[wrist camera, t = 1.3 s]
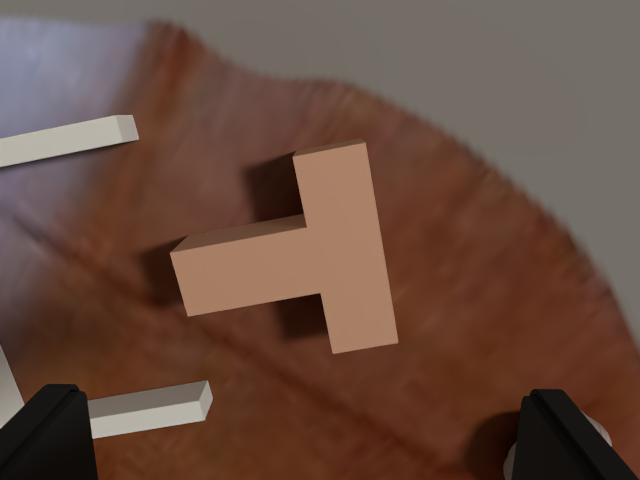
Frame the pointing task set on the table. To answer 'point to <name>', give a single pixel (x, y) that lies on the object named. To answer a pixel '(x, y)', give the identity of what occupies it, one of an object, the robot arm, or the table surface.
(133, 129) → the frame
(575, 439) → the robot arm
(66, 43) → the table surface
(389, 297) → the t block
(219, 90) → the table surface
